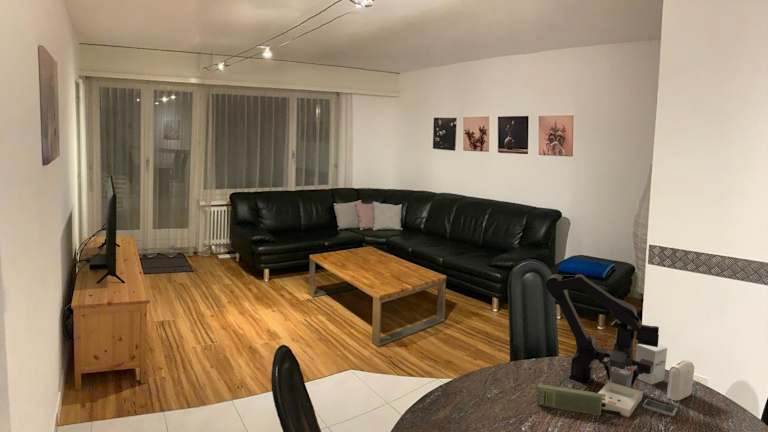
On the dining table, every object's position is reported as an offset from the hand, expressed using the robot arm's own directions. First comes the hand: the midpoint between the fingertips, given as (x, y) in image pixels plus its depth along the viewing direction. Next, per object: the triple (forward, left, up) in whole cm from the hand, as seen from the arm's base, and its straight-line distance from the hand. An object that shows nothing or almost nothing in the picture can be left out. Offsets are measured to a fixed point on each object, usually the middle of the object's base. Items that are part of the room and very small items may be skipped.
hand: (620, 383), depth 180 cm
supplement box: (+6, +14, -2) cm, 15 cm away
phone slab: (+14, -7, -1) cm, 16 cm away
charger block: (0, 0, -1) cm, 1 cm away
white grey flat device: (+3, -12, -1) cm, 12 cm away
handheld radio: (-6, -26, -2) cm, 27 cm away
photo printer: (+17, +7, -2) cm, 18 cm away
